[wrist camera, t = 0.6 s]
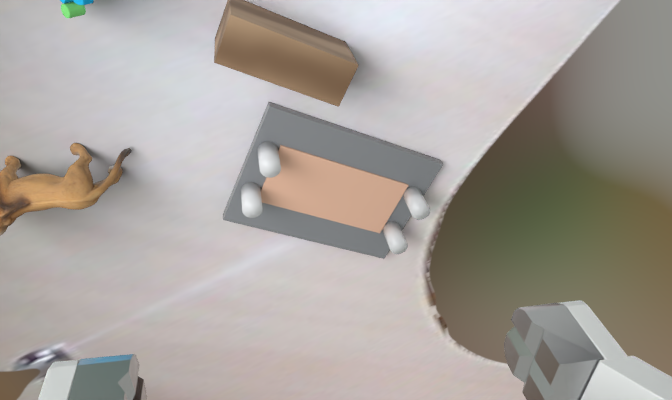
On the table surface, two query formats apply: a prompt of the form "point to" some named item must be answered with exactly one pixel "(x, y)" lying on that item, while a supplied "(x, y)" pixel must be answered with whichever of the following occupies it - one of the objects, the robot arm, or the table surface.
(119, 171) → the lion figurine
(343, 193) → the cradle
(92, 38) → the table surface
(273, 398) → the table surface
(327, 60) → the block
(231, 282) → the table surface
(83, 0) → the blue spiky animal toy
